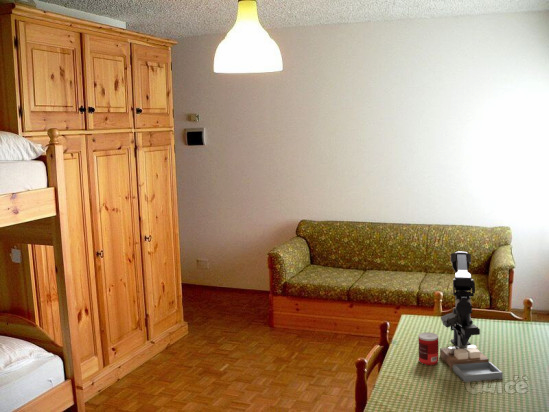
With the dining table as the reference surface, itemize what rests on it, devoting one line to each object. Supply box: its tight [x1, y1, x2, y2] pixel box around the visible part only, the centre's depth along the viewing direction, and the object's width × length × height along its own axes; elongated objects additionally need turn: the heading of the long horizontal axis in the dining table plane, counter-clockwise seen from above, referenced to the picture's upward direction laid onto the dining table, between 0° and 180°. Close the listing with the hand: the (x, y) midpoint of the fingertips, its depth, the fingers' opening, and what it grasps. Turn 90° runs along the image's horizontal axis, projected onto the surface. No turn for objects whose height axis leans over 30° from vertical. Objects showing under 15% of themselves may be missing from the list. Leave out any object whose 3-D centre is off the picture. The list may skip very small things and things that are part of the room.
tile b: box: [466, 347, 481, 358], centre depth 231 cm, size 4×4×2 cm
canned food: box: [418, 331, 439, 366], centre depth 235 cm, size 8×8×11 cm
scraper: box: [447, 334, 478, 354], centre depth 235 cm, size 2×11×7 cm, turn 96°
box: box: [452, 361, 504, 383], centre depth 223 cm, size 10×15×2 cm, turn 96°
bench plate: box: [439, 347, 490, 370], centre depth 234 cm, size 14×14×4 cm
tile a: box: [454, 349, 468, 360], centre depth 231 cm, size 4×4×2 cm
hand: (462, 344), depth 235 cm, fingers closed on scraper, 2 cm apart
